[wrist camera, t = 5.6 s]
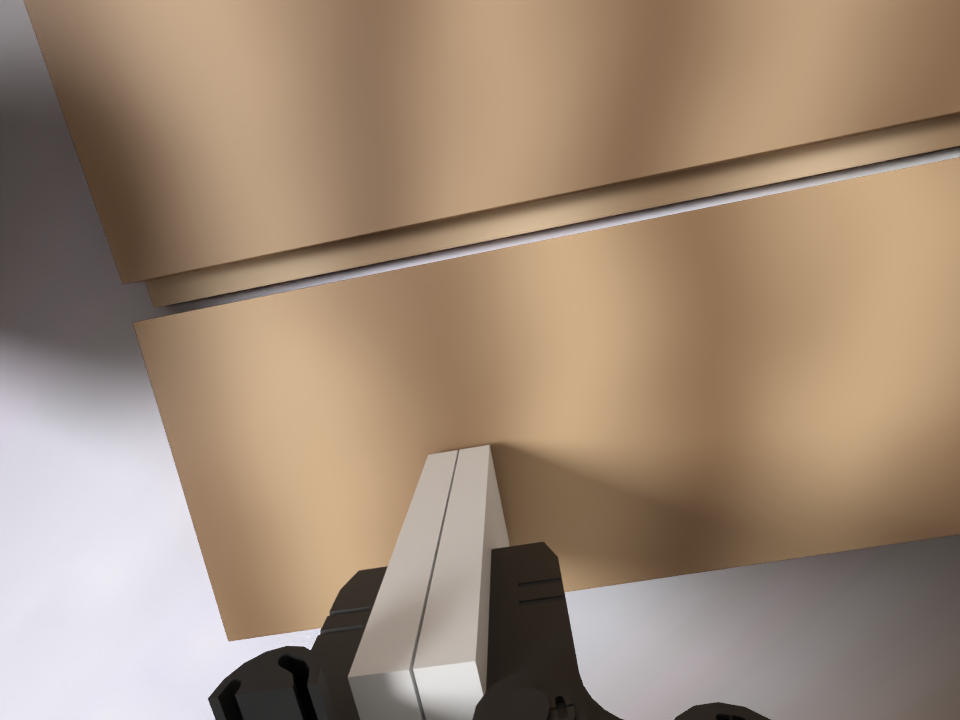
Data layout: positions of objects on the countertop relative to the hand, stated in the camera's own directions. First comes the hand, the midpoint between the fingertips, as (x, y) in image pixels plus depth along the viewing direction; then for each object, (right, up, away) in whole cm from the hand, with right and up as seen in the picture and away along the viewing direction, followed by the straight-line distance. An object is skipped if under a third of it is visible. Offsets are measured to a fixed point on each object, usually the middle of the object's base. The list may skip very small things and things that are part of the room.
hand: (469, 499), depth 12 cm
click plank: (+5, +3, +1) cm, 6 cm away
